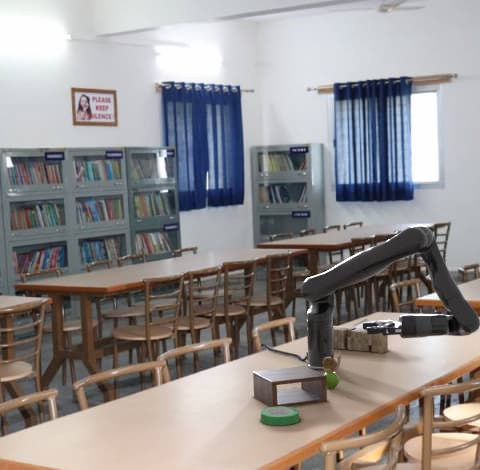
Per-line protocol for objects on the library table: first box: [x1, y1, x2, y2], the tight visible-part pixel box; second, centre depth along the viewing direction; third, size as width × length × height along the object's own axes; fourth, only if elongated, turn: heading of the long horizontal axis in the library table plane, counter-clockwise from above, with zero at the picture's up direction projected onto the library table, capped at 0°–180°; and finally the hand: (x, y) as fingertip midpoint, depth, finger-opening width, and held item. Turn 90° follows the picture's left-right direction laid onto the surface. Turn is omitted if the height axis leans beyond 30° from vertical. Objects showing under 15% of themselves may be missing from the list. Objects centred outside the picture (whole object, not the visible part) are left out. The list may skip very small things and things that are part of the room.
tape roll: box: [260, 406, 300, 426], centre depth 270 cm, size 11×11×3 cm
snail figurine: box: [322, 351, 342, 389], centre depth 305 cm, size 5×6×12 cm
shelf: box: [252, 365, 328, 407], centre depth 293 cm, size 16×18×8 cm
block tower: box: [333, 325, 389, 354], centre depth 367 cm, size 8×8×29 cm
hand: (364, 328), depth 303 cm, fingers open, 8 cm apart
